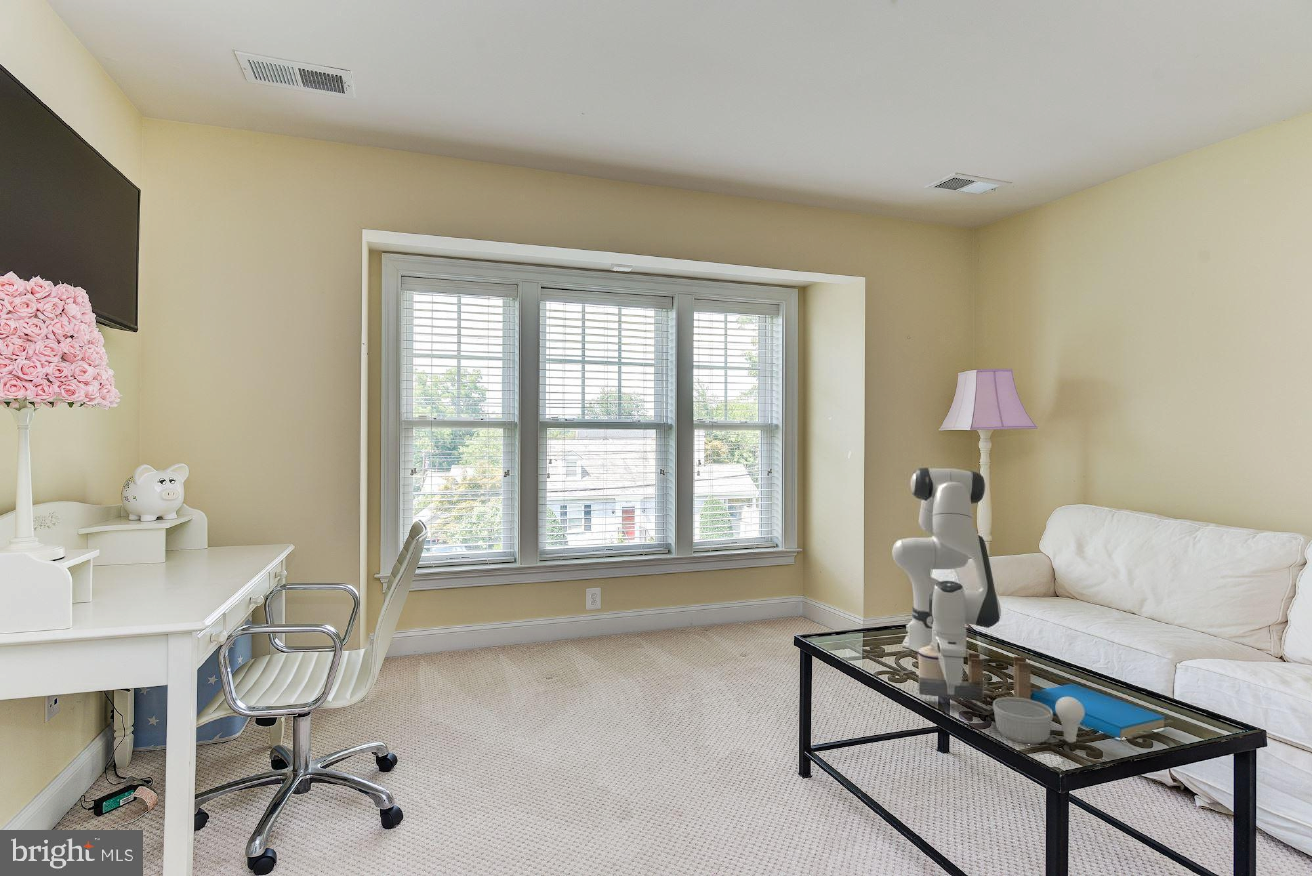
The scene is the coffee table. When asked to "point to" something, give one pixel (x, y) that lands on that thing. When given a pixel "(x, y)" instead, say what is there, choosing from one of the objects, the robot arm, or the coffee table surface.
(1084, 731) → the coffee table surface
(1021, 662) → the post
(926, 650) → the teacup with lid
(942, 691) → the rail
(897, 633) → the coffee table surface
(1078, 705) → the lightbulb
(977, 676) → the post
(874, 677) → the coffee table surface
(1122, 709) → the book
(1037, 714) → the ramekin
